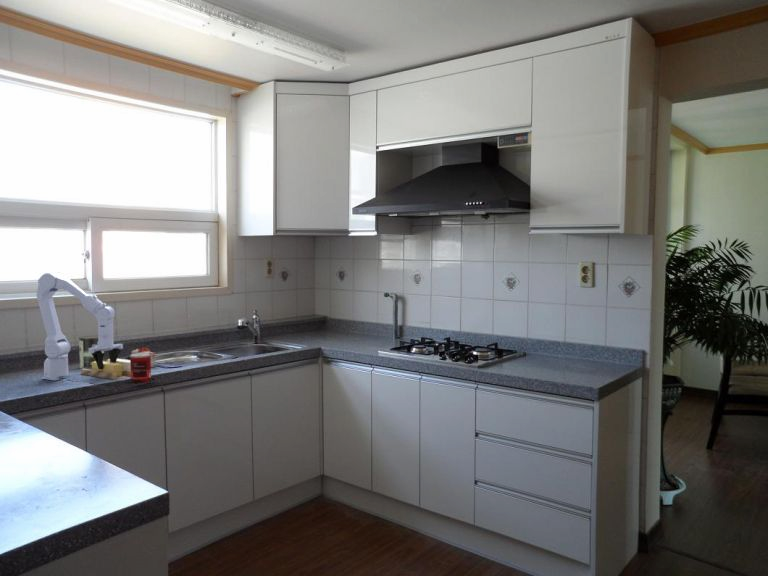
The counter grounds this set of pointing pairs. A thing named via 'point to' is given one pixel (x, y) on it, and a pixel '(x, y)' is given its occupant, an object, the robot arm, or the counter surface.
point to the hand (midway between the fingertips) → (106, 367)
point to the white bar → (123, 364)
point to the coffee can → (87, 350)
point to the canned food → (140, 367)
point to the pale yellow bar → (109, 368)
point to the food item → (146, 350)
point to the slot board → (106, 374)
